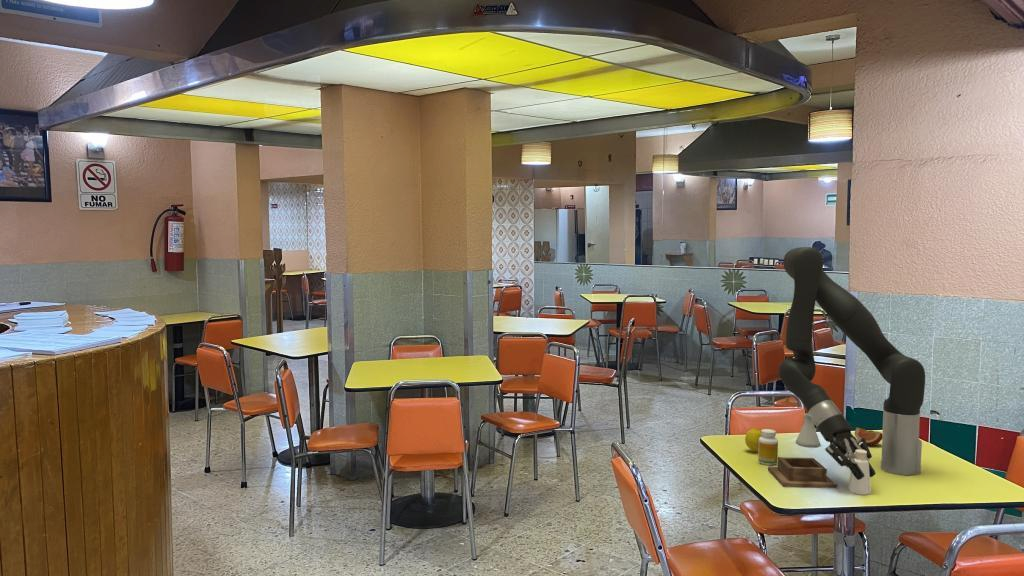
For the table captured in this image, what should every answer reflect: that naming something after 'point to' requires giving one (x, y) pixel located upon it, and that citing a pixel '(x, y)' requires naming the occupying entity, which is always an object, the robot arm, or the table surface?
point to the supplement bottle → (768, 447)
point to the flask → (808, 433)
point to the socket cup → (801, 473)
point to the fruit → (753, 439)
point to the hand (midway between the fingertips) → (866, 476)
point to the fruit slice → (868, 436)
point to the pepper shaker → (864, 483)
